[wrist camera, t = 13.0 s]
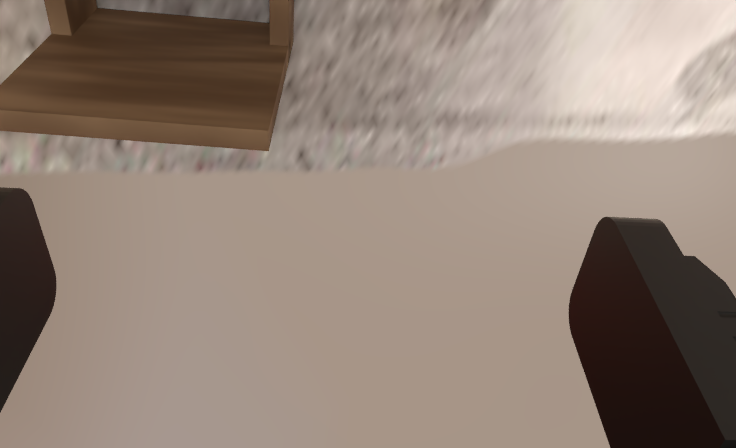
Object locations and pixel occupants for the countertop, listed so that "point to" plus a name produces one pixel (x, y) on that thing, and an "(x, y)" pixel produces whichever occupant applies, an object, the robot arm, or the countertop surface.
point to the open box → (152, 77)
